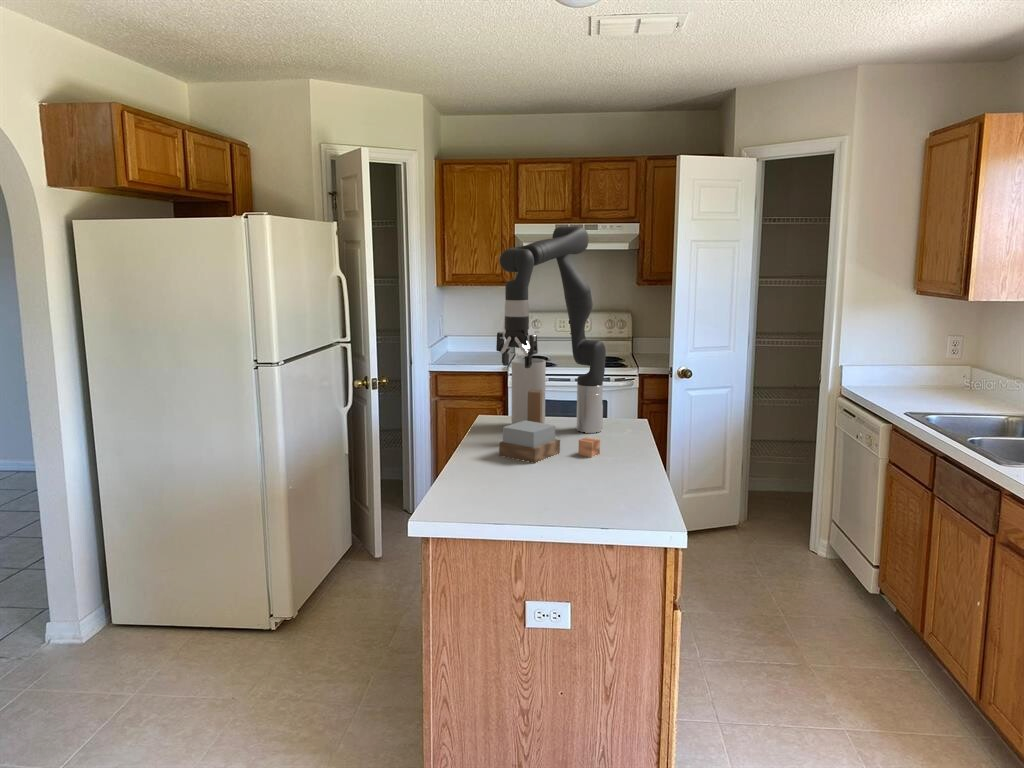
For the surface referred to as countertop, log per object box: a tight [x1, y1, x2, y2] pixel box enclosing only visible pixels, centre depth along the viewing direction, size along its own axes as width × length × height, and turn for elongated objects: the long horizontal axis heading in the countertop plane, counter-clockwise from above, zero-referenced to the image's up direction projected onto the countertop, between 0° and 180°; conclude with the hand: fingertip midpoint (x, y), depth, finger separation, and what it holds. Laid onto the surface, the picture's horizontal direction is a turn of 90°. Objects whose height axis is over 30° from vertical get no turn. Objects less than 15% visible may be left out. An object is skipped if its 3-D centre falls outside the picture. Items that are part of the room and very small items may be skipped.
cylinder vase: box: [511, 357, 547, 425], centre depth 274 cm, size 12×12×25 cm
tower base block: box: [498, 438, 561, 464], centre depth 238 cm, size 14×14×5 cm
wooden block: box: [527, 390, 543, 423], centre depth 252 cm, size 9×4×18 cm, turn 80°
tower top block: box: [502, 420, 556, 448], centre depth 237 cm, size 12×12×5 cm
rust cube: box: [577, 436, 601, 458], centre depth 238 cm, size 5×5×5 cm
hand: (516, 366), depth 230 cm, fingers open, 8 cm apart
